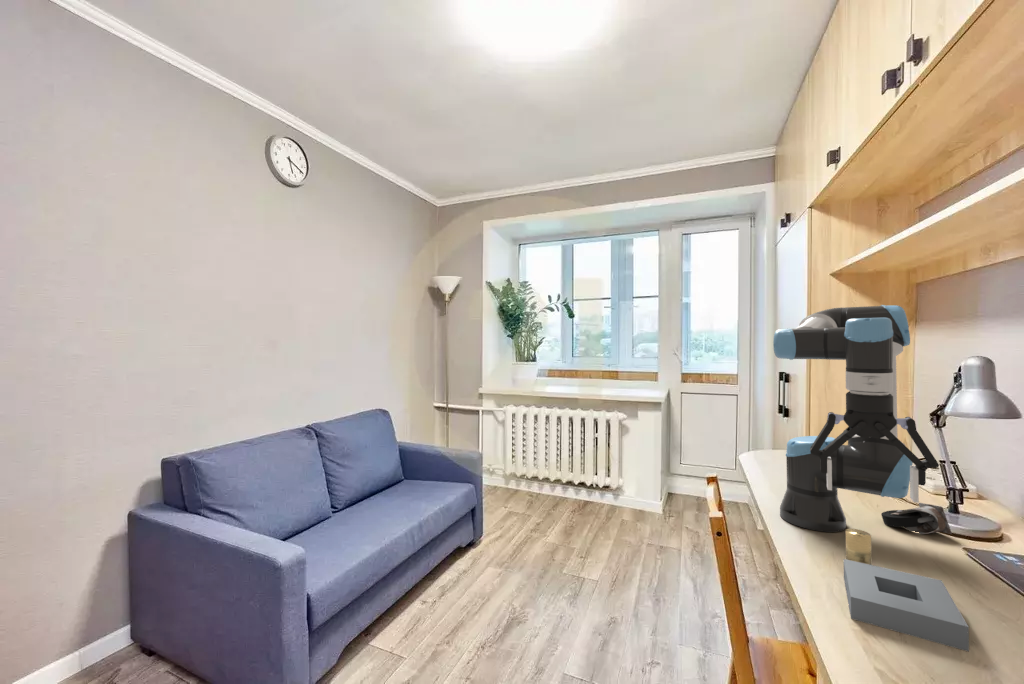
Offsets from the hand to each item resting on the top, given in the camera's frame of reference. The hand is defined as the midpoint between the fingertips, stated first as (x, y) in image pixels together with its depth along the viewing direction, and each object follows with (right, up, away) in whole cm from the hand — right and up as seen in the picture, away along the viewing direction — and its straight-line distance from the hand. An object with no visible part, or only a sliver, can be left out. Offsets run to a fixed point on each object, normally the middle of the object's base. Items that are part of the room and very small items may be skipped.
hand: (870, 494), depth 88 cm
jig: (-2, -19, -9) cm, 21 cm away
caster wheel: (+32, -19, +25) cm, 44 cm away
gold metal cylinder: (+2, -19, +6) cm, 19 cm away
